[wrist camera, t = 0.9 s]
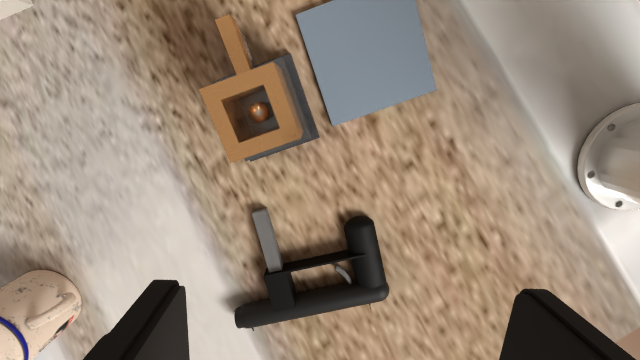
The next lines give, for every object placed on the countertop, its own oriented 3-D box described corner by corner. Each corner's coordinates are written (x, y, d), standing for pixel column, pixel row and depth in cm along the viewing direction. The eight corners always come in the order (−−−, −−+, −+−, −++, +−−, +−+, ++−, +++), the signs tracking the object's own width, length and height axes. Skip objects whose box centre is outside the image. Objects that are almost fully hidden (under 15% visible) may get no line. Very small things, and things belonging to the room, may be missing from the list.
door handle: (202, 226, 36) (240, 342, 39) (369, 188, 35) (395, 311, 38) (212, 217, 39) (246, 325, 43) (365, 182, 38) (389, 296, 42)
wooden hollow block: (260, 10, 28) (246, -11, 22) (303, 131, 30) (300, 138, 25) (197, 34, 28) (169, 20, 23) (245, 151, 31) (230, 163, 26)
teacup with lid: (41, 334, 42) (-59, 420, 31) (0, 280, 40) (-124, 352, 29) (117, 306, 41) (42, 384, 30) (78, 249, 39) (-18, 310, 28)
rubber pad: (406, -27, 31) (408, -29, 31) (434, 89, 34) (436, 89, 34) (295, 16, 32) (295, 14, 32) (332, 125, 35) (332, 126, 35)
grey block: (279, 22, 32) (268, 0, 25) (319, 136, 36) (319, 146, 28) (206, 50, 33) (174, 36, 26) (251, 160, 36) (235, 176, 29)
